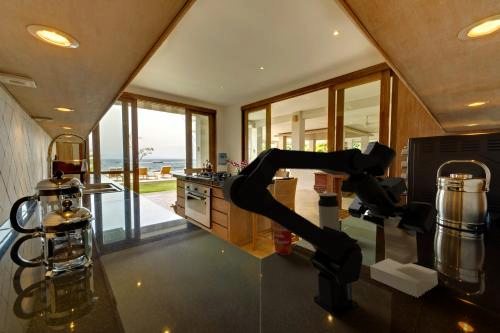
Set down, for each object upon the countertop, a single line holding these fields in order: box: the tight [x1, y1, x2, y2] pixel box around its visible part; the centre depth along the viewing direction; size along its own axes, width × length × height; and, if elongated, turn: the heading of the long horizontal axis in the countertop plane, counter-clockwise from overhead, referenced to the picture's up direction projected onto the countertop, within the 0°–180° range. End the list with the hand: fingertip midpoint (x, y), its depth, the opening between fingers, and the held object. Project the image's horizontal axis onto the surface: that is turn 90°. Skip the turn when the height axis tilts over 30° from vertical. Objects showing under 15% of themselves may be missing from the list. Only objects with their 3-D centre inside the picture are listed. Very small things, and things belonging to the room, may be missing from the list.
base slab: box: [370, 258, 439, 299], centre depth 51 cm, size 10×10×3 cm
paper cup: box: [271, 221, 293, 255], centre depth 72 cm, size 8×8×14 cm
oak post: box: [383, 204, 419, 265], centre depth 51 cm, size 4×4×13 cm
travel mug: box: [317, 192, 341, 231], centre depth 86 cm, size 8×8×18 cm
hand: (403, 232), depth 51 cm, fingers closed on oak post, 5 cm apart
